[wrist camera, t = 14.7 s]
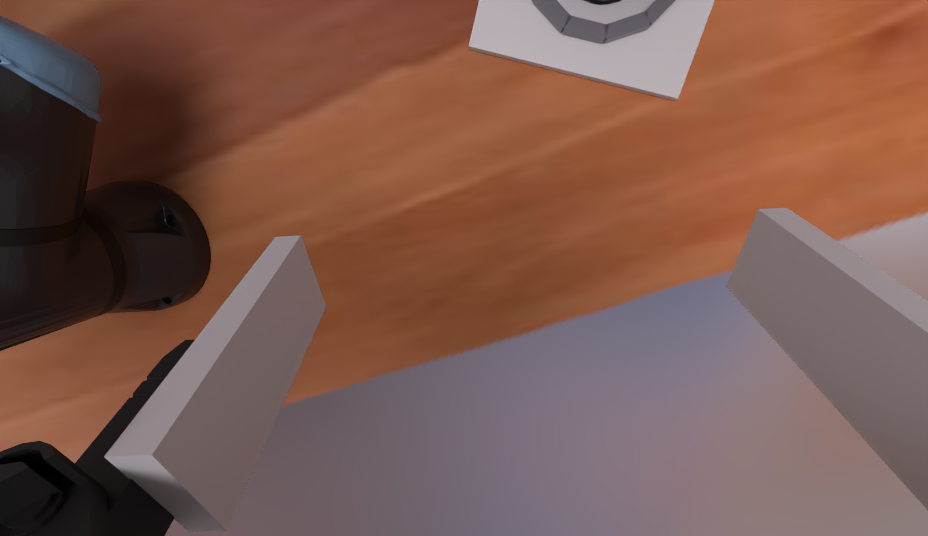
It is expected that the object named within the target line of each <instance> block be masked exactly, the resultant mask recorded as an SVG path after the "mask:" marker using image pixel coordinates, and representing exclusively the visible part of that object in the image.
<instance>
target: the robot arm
mask: <svg viewBox="0 0 928 536" xmlns="http://www.w3.org/2000/svg"><path fill="white" fill-rule="evenodd" d="M100 89H101V80H100V76H99V73H98V71H97V69H96V68H95V66H94V65H93V64H92V63H91V62H90V61H89V60H88V59H87V58H86V57H84V56H83V55H81V54H80V53H78V52H76V51H74V50H73V49H71V48H69V47H67V46H65V45H63V44H61V43H59V42H56V41H54V40H52V39H50V38H48V37H46V36H44V35H42V34H39V33H37V32H35V31H33V30H31V29H28V28H26V27H24V26H22V25H20V24H17V23H15V22H13V21H11V20H8V19H6V18H4V17H2V16H0V351H1V350H4V349H7V348H10V347H12V346H15V345H18V344H21V343H24V342H26V341H29V340H32V339H35V338H38V337H40V336H43V335H46V334H49V333H51V332H54V331H57V330H60V329H63V328H65V327H68V326H71V325H74V324H77V323H79V322H82V321H85V320H88V319H90V318H93V317H96V316H99V315H102V314H105V313H120V312H143V311H157V310H162V309H166V308H169V307H172V306H174V305H177V304H179V303H182V302H184V301H186V300H188V299H190V298H191V297H192V296H194V295H195V294H196V293H197V292H198V291H199V289H200V288H201V287H202V285H203V283H204V281H205V279H206V277H207V274H208V270H209V263H210V252H209V245H208V240H207V237H206V234H205V231H204V229H203V226H202V224H201V222H200V221H199V219H198V217H197V216H196V214H195V213H194V212H193V210H192V209H191V208H190V207H189V206H188V204H187V203H186V202H185V201H184V200H182V199H181V198H180V197H179V196H178V195H176V194H175V193H173V192H172V191H170V190H168V189H167V188H165V187H163V186H160V185H157V184H154V183H150V182H145V181H120V182H113V183H108V184H104V185H102V186H99V187H97V188H94V189H91V190H89V191H86V187H87V181H88V175H89V168H90V162H91V155H92V149H93V142H94V136H95V130H96V123H99V122H101V116H100V115H99V114H98V110H99V99H100ZM727 288H728V289H729V290H730V291H731V292H732V293H733V294H734V295H735V297H736V298H737V299H738V300H739V301H740V302H741V303H742V304H743V306H744V307H745V308H746V309H747V310H748V311H749V312H750V313H751V314H752V316H754V318H755V319H756V320H757V321H758V322H759V323H760V324H761V325H762V327H763V328H765V330H766V331H767V332H768V333H769V334H770V335H771V337H772V338H773V339H774V340H775V341H776V342H777V343H778V344H779V345H780V347H781V348H782V349H783V350H784V351H785V352H786V353H787V354H788V355H789V357H790V358H791V359H792V360H793V361H794V362H795V363H796V364H797V365H798V367H799V368H800V369H801V370H802V371H803V372H804V373H805V374H806V375H807V377H808V378H809V379H810V380H811V381H812V382H813V383H814V384H815V385H816V387H817V388H818V389H819V390H820V391H821V392H822V393H823V394H824V395H825V396H826V397H827V399H828V400H829V401H830V402H831V403H832V404H833V405H834V407H835V408H836V409H837V410H838V411H839V412H840V413H841V414H842V415H843V416H844V418H845V419H846V420H847V421H848V422H849V423H850V424H851V425H852V426H853V427H854V429H855V430H856V431H857V432H858V433H859V434H860V435H861V436H862V438H863V439H864V440H865V441H866V442H867V443H868V444H869V445H870V446H871V448H872V449H873V450H874V451H875V452H876V453H877V454H878V455H879V456H880V458H881V459H882V460H883V461H884V462H885V463H886V464H887V465H888V467H889V468H890V469H891V470H892V471H893V472H894V473H895V474H896V475H897V476H898V478H899V479H900V480H901V481H902V482H903V483H904V484H905V485H906V486H907V488H908V489H909V490H910V491H911V492H912V493H913V494H914V495H915V496H916V498H917V499H918V500H919V501H920V502H921V503H922V504H923V505H924V507H926V509H927V510H928V301H927V300H925V299H924V298H922V297H921V296H919V295H918V294H916V293H915V292H913V291H912V290H910V289H909V288H907V287H906V286H904V285H903V284H901V283H900V282H898V281H896V280H895V279H894V278H892V277H890V276H889V275H887V274H886V273H884V272H883V271H881V270H880V269H878V268H877V267H875V266H874V265H872V264H871V263H869V262H868V261H866V260H865V259H863V258H862V257H860V256H859V255H857V254H856V253H854V252H853V251H851V250H849V249H848V248H846V247H845V246H843V245H842V244H840V243H839V242H837V241H836V240H834V239H833V238H831V237H830V236H828V235H827V234H825V233H824V232H822V231H821V230H819V229H818V228H816V227H815V226H813V225H812V224H810V223H809V222H807V221H806V220H804V219H803V218H801V217H800V216H798V215H797V214H795V213H793V212H792V211H790V210H789V209H787V208H774V209H758V211H757V214H756V216H755V219H754V221H753V223H752V226H751V228H750V231H749V233H748V235H747V238H746V240H745V243H744V245H743V247H742V250H741V252H740V255H739V257H738V259H737V262H736V264H735V267H734V269H733V271H732V274H731V276H730V279H729V281H728V283H727ZM325 308H326V304H325V302H324V299H323V296H322V293H321V290H320V288H319V285H318V282H317V279H316V276H315V274H314V271H313V268H312V265H311V262H310V260H309V257H308V254H307V251H306V248H305V246H304V243H303V240H302V237H301V235H299V236H282V237H275V238H274V239H273V241H272V242H271V243H270V244H269V246H268V247H267V248H266V250H265V251H264V252H263V253H262V255H261V256H260V257H259V258H258V260H257V261H256V262H255V264H254V265H253V266H252V267H251V269H250V270H249V271H248V273H247V274H246V275H245V276H244V278H243V279H242V280H241V282H240V283H239V284H238V285H237V287H236V288H235V289H234V291H233V292H232V293H231V294H230V296H229V297H228V298H227V300H226V301H225V302H224V303H223V305H222V306H221V307H220V309H219V310H218V311H217V312H216V314H215V315H214V316H213V317H212V319H211V320H210V321H209V323H208V324H207V325H206V326H205V328H204V329H203V330H202V332H201V333H200V334H199V335H198V337H197V338H196V339H195V340H185V341H184V342H182V343H181V344H180V345H178V346H177V347H176V348H175V349H173V350H172V351H171V352H169V353H168V354H167V355H165V356H164V357H163V358H162V359H161V360H160V362H159V363H158V364H157V365H156V366H155V368H154V369H153V370H152V371H151V372H150V374H149V375H148V376H147V380H146V381H143V382H142V383H141V384H140V386H139V387H138V388H137V389H136V391H135V392H134V393H133V397H132V398H129V399H128V400H127V401H126V403H125V404H124V405H123V406H122V407H121V409H120V410H119V411H118V412H117V413H116V415H115V416H114V417H113V418H112V419H111V421H110V422H109V423H108V424H107V425H106V427H105V428H104V429H103V430H102V431H101V433H100V434H99V435H98V436H97V437H96V439H95V440H94V441H93V442H92V444H91V445H90V446H89V447H88V448H87V450H86V451H85V452H84V453H83V454H82V456H81V457H80V458H79V459H78V460H77V462H76V463H75V464H74V463H73V462H72V461H71V460H69V459H68V458H67V457H66V456H64V455H63V454H62V453H61V452H59V451H58V450H57V449H56V448H54V447H53V446H52V445H50V444H47V443H44V442H41V441H36V442H29V443H22V444H19V445H17V446H14V447H11V448H9V449H6V450H4V451H1V452H0V536H165V534H166V532H167V530H168V528H169V526H170V524H171V523H172V521H173V519H175V520H176V521H177V522H179V523H180V524H181V525H182V526H183V527H184V528H185V529H187V530H188V531H189V532H193V531H227V529H228V527H229V525H230V523H231V520H232V518H233V515H234V514H235V511H236V509H237V507H238V505H239V502H240V500H241V498H242V495H243V493H244V491H245V489H246V487H247V484H248V482H249V480H250V477H251V475H252V473H253V470H254V468H255V466H256V464H257V462H258V459H259V457H260V455H261V452H262V450H263V448H264V446H265V444H266V441H267V439H268V437H269V435H270V432H271V430H272V428H273V425H274V423H275V421H276V419H277V416H278V414H279V412H280V410H281V407H282V405H283V403H284V401H285V398H286V396H287V394H288V392H289V389H290V387H291V385H292V382H293V380H294V378H295V376H296V373H297V371H298V369H299V367H300V364H301V362H302V360H303V358H304V355H305V353H306V351H307V349H308V346H309V344H310V342H311V340H312V337H313V335H314V333H315V330H316V328H317V326H318V324H319V321H320V319H321V317H322V315H323V312H324V310H325Z"/></svg>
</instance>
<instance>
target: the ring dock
mask: <svg viewBox="0 0 928 536" xmlns="http://www.w3.org/2000/svg"><path fill="white" fill-rule="evenodd" d="M714 1H715V0H621V1H619V2H616V3H612V4H607V5H597V4H591V3H588V2H586V1H583V0H479V4H478V8H477V12H476V16H475V21H474V25H473V29H472V34H471V38H470V42H469V49H470V50H474V51H478V52H482V53H486V54H490V55H494V56H497V57H501V58H505V59H509V60H513V61H517V62H521V63H525V64H529V65H533V66H537V67H541V68H545V69H549V70H553V71H557V72H561V73H565V74H569V75H573V76H577V77H581V78H585V79H589V80H593V81H597V82H601V83H605V84H609V85H613V86H617V87H621V88H625V89H629V90H633V91H637V92H641V93H645V94H649V95H653V96H657V97H661V98H665V99H669V100H673V101H674V100H676V99H678V97H679V95H680V92H681V89H682V87H683V84H684V81H685V78H686V76H687V73H688V70H689V68H690V65H691V62H692V60H693V57H694V54H695V52H696V49H697V46H698V44H699V41H700V38H701V36H702V33H703V30H704V27H705V25H706V22H707V19H708V17H709V14H710V11H711V9H712V6H713V3H714Z"/></svg>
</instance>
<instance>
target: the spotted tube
mask: <svg viewBox="0 0 928 536" xmlns="http://www.w3.org/2000/svg"><path fill="white" fill-rule="evenodd" d="M583 1H586V2H588V3H591V4H597V5H607V4H612V3H616V2H619V1H621V0H583Z"/></svg>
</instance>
